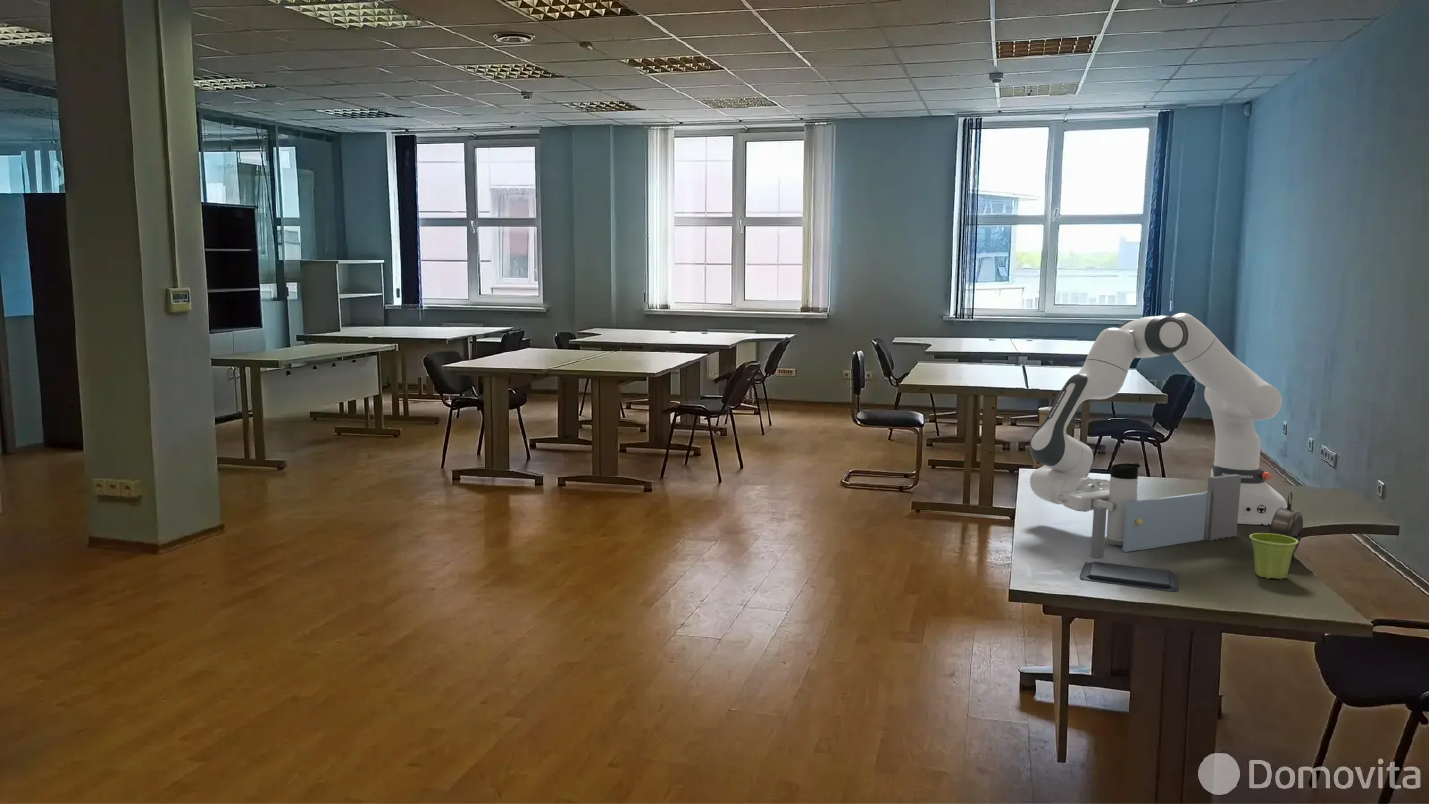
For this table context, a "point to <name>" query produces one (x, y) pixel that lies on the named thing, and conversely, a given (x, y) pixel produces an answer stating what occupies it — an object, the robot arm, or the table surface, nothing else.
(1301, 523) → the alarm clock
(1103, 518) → the pair of grey slabs
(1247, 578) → the table surface
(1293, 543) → the plant pot
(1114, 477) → the travel mug
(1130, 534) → the door
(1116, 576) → the dark grey book
